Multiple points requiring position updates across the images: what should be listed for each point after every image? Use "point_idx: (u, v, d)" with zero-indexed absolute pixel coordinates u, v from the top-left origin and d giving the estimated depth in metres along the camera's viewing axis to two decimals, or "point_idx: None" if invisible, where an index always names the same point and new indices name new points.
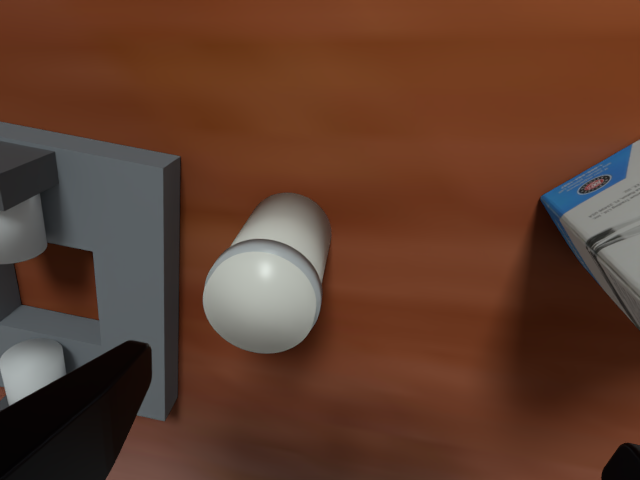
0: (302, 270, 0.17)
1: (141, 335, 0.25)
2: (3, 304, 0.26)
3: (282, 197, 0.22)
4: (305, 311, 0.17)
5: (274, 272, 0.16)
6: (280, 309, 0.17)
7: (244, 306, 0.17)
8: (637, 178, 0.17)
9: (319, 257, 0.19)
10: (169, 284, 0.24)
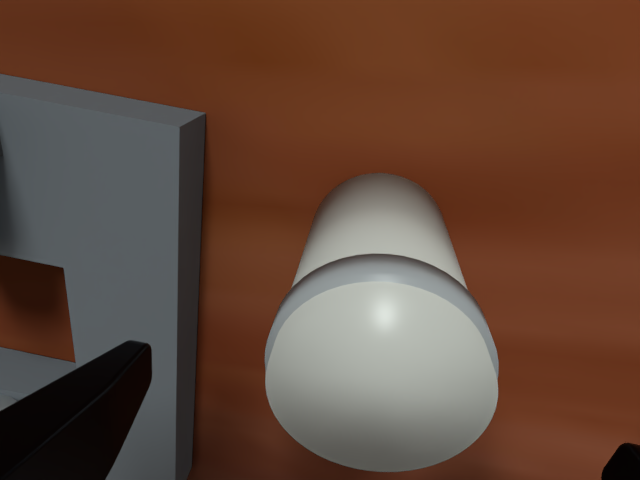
0: (474, 320, 0.08)
1: None
2: None
3: (375, 179, 0.13)
4: (477, 403, 0.08)
5: (426, 327, 0.08)
6: (424, 397, 0.08)
7: (350, 390, 0.08)
8: None
9: None
10: (185, 317, 0.15)
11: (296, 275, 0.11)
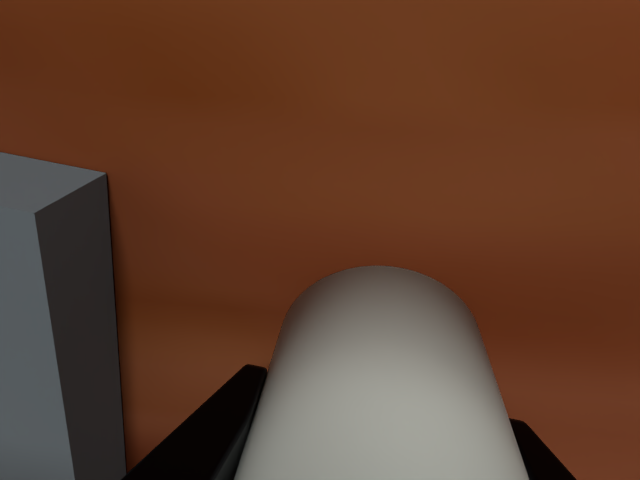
0: None
1: None
2: None
3: (375, 281, 0.08)
4: None
5: None
6: None
7: None
8: None
9: None
10: (94, 463, 0.10)
11: None
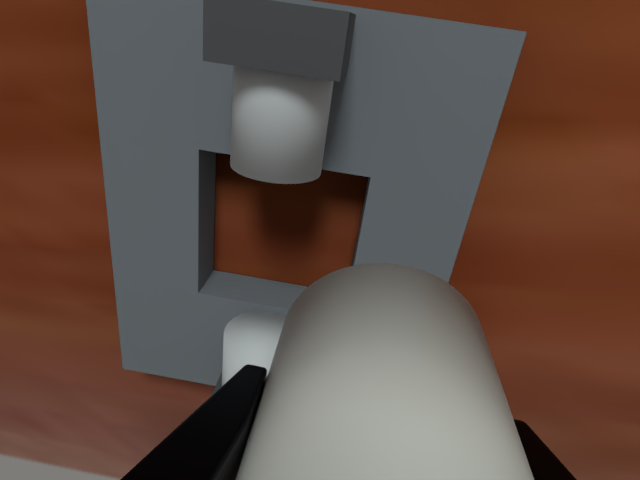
0: None
1: None
2: (204, 266, 0.19)
3: (377, 278, 0.08)
4: None
5: None
6: None
7: None
8: None
9: None
10: None
11: None
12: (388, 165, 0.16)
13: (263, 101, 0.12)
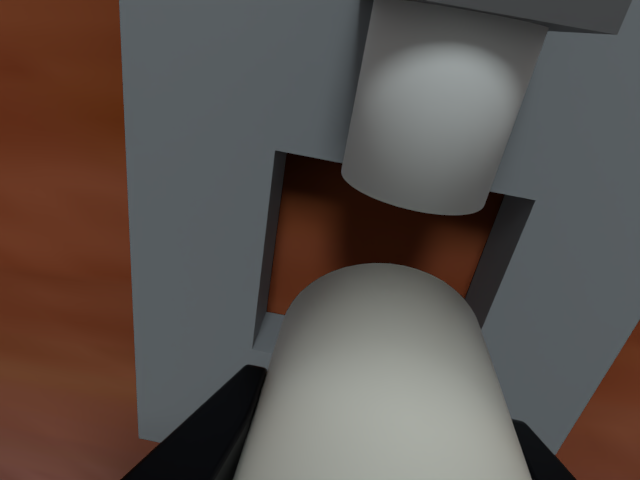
0: None
1: (554, 373, 0.13)
2: (260, 312, 0.14)
3: (375, 278, 0.08)
4: None
5: None
6: None
7: None
8: None
9: None
10: None
11: None
12: (567, 183, 0.10)
13: (441, 71, 0.07)
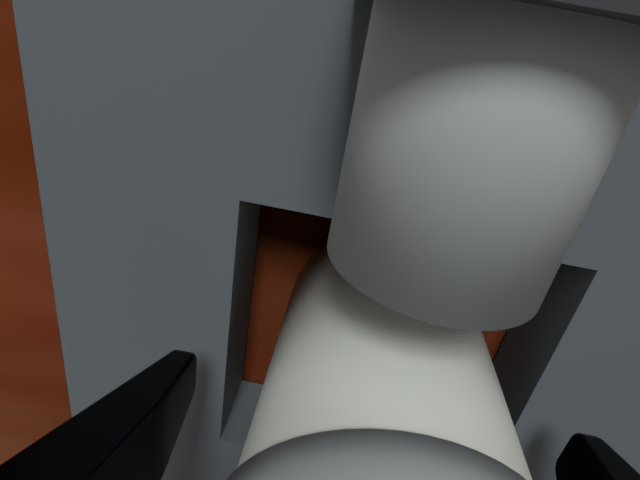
0: None
1: None
2: (230, 390, 0.11)
3: None
4: None
5: None
6: None
7: None
8: None
9: (515, 431, 0.07)
10: None
11: (256, 410, 0.07)
12: None
13: (493, 113, 0.04)
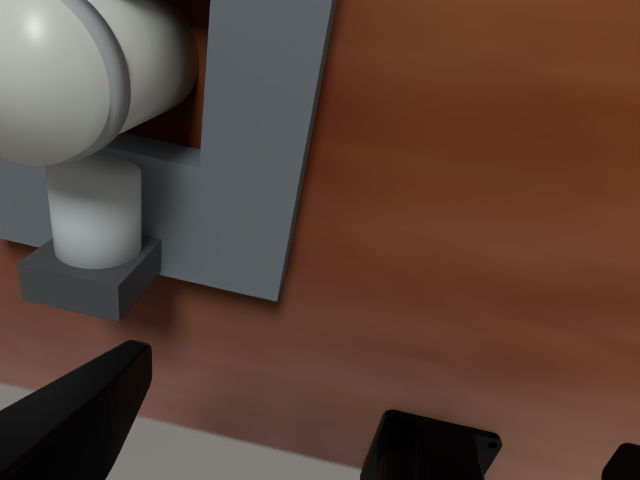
0: (74, 11, 0.10)
1: (268, 146, 0.16)
2: None
3: None
4: (80, 81, 0.10)
5: (16, 0, 0.10)
6: (42, 78, 0.11)
7: None
8: None
9: (141, 40, 0.13)
10: (324, 54, 0.15)
11: None
12: None
13: None
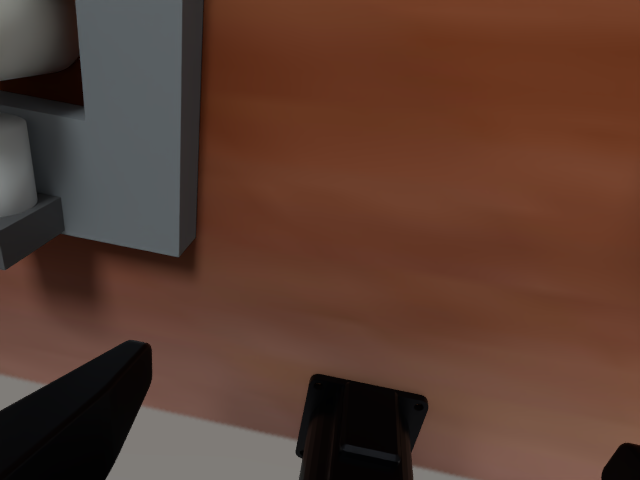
0: None
1: (146, 95, 0.16)
2: None
3: None
4: None
5: None
6: None
7: None
8: None
9: None
10: (190, 0, 0.15)
11: None
12: None
13: None
